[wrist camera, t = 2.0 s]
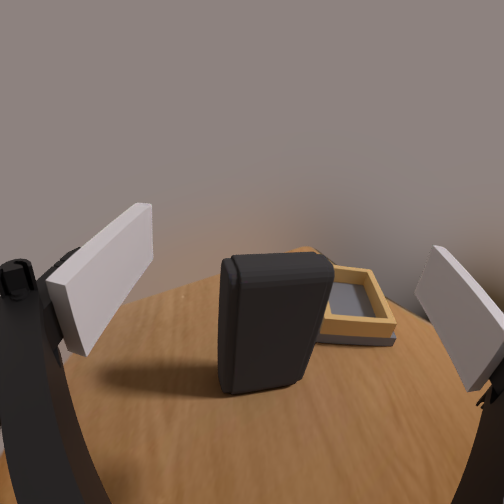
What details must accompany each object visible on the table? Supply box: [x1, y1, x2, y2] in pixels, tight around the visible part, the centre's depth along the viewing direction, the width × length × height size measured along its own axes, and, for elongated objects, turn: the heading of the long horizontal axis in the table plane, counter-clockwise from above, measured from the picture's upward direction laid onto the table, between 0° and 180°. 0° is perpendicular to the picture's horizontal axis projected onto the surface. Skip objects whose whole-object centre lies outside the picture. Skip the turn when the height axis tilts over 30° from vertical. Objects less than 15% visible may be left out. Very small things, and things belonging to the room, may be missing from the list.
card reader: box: [218, 252, 335, 394], centre depth 27 cm, size 9×4×15 cm, turn 105°
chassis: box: [316, 265, 397, 346], centre depth 42 cm, size 20×14×4 cm
